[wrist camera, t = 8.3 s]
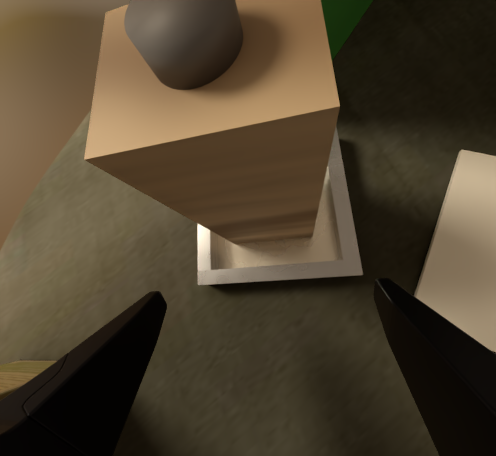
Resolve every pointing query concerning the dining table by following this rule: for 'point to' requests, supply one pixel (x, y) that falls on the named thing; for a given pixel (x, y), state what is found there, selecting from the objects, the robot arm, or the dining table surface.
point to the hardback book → (342, 20)
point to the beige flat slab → (465, 251)
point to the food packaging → (20, 374)
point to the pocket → (290, 243)
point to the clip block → (219, 111)
